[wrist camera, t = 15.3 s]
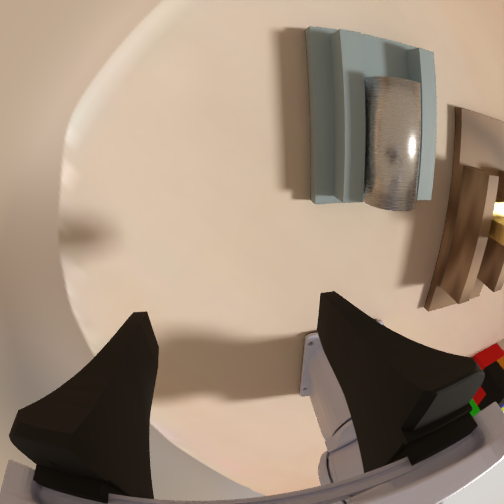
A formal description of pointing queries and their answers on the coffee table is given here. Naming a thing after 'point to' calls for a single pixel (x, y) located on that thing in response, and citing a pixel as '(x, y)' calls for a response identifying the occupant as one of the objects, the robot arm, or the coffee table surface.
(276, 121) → the coffee table surface
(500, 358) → the puzzle toy
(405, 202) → the shiny metal cylinder
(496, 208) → the tan blocky piece
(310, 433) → the coffee table surface
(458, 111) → the socket block
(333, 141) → the rack
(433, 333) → the coffee table surface
